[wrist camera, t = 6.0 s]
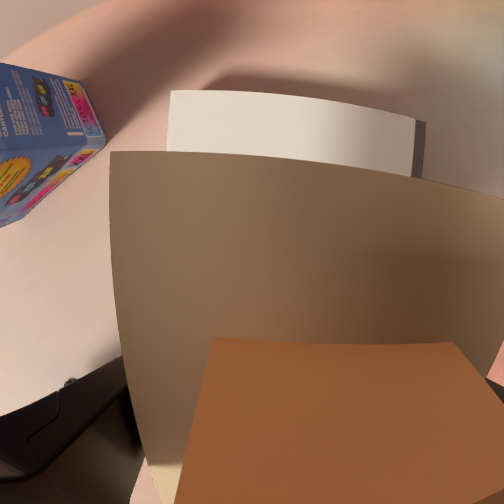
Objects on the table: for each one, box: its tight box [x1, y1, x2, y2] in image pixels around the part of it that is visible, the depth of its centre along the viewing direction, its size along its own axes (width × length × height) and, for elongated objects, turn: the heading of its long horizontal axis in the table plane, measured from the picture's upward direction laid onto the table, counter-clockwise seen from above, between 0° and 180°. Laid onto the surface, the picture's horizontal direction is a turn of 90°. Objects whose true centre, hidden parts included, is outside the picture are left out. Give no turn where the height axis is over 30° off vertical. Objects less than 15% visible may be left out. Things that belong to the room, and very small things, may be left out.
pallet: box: [109, 151, 504, 504], centre depth 7 cm, size 7×10×4 cm
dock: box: [166, 90, 426, 179], centre depth 17 cm, size 13×16×3 cm
